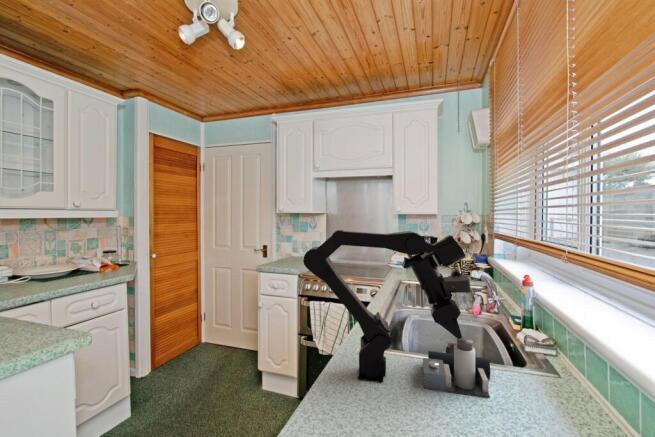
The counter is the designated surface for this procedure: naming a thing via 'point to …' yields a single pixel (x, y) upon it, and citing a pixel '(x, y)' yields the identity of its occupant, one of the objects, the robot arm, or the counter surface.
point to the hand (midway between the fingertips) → (457, 329)
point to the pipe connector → (449, 359)
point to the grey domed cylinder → (464, 363)
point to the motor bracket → (451, 379)
